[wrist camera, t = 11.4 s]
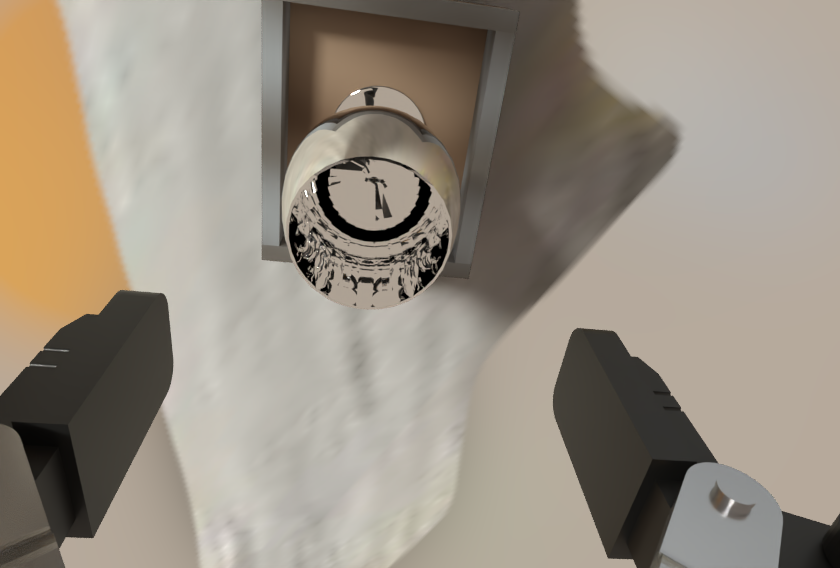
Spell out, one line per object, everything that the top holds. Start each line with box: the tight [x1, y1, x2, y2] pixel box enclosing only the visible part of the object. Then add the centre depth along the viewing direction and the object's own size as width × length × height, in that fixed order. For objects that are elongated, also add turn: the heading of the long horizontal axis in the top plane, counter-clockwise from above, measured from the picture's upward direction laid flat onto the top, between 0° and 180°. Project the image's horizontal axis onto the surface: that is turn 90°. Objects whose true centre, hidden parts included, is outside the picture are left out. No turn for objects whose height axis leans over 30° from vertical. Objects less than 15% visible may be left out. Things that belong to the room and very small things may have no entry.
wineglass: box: [282, 85, 461, 309], centre depth 21 cm, size 6×6×12 cm
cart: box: [262, 0, 520, 279], centre depth 27 cm, size 12×10×5 cm
